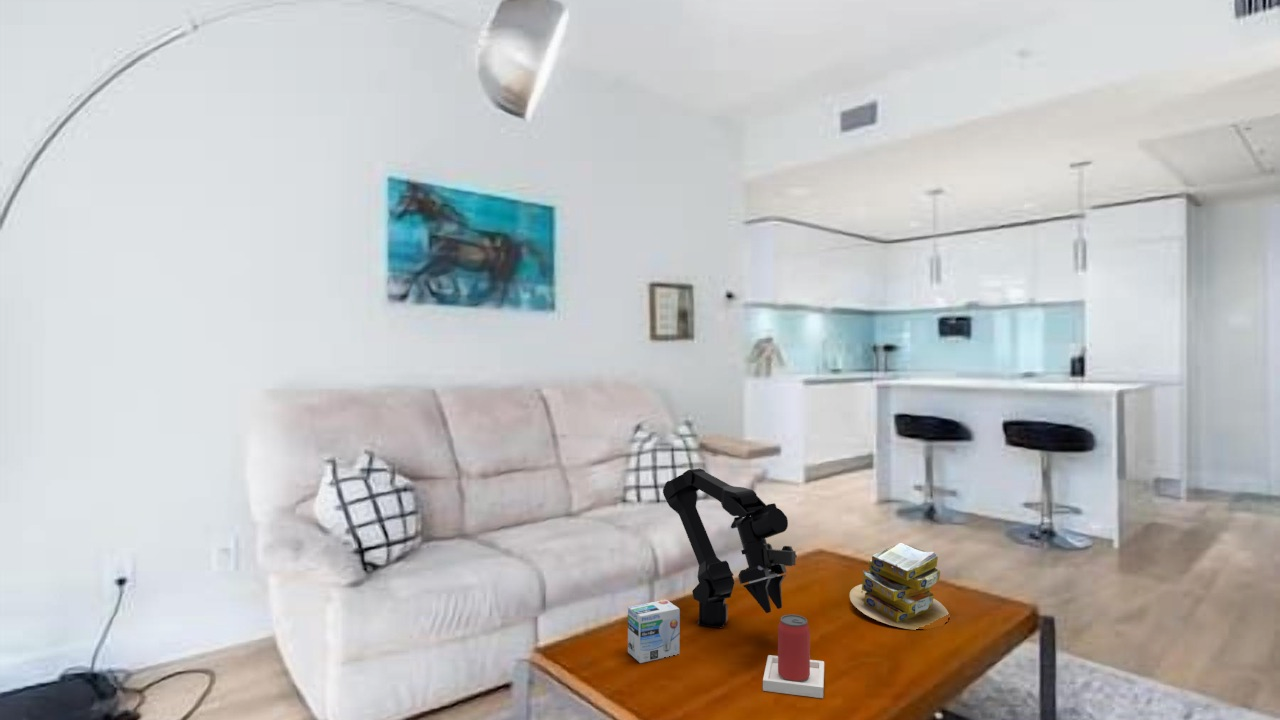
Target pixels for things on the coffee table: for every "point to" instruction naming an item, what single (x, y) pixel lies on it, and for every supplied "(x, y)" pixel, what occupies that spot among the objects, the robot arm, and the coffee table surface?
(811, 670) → the dock tray
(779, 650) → the beer can
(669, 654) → the light bulb box
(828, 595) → the coffee table surface
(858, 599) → the stacked boxes on plate
